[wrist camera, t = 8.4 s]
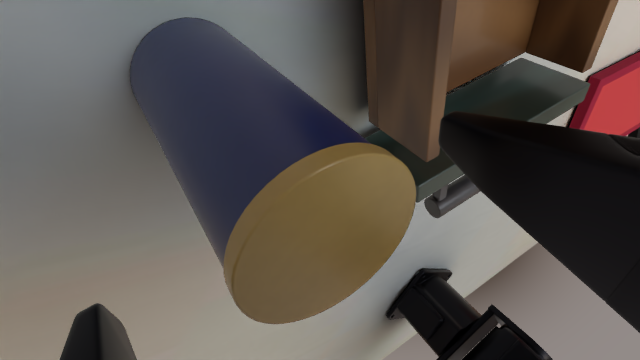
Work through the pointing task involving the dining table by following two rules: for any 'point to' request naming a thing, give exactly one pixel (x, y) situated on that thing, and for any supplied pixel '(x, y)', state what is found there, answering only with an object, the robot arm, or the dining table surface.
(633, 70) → the red board with handle
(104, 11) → the dining table surface
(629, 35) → the dining table surface
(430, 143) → the drawer
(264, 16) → the dining table surface
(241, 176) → the tin
